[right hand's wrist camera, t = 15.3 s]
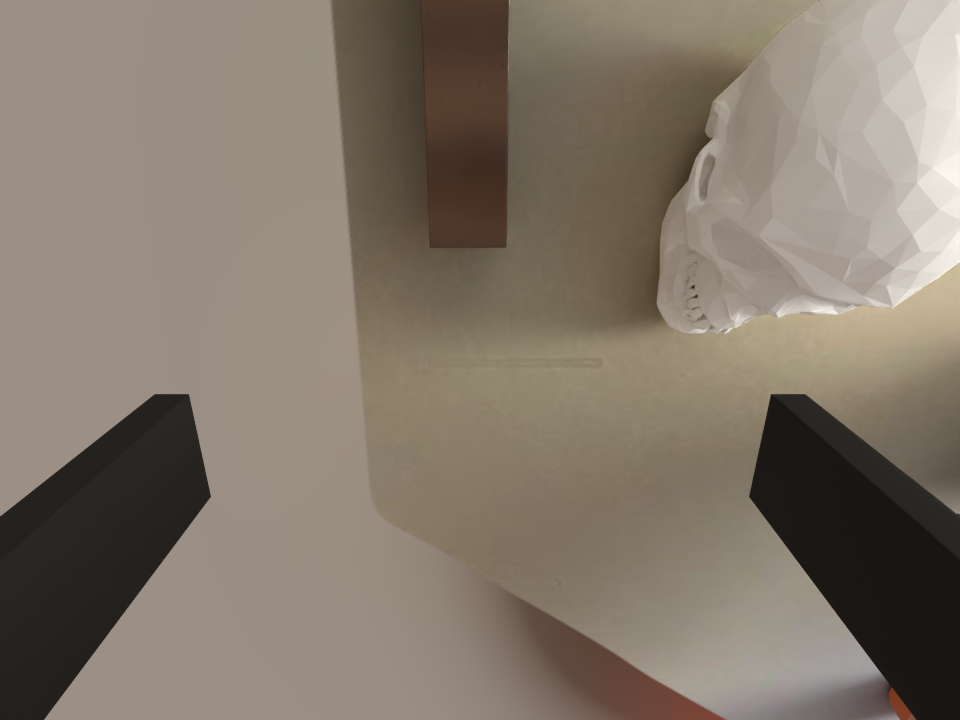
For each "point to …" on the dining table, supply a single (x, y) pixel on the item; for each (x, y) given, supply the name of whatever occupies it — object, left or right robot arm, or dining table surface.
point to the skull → (823, 171)
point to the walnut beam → (466, 120)
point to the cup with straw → (899, 706)
